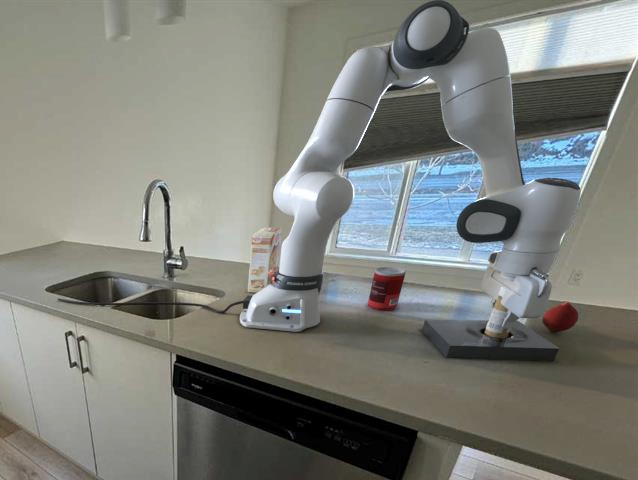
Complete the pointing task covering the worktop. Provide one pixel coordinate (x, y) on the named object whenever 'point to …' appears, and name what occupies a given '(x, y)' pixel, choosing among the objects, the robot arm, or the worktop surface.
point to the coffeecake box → (263, 257)
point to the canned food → (386, 288)
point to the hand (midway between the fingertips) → (499, 322)
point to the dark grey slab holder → (487, 341)
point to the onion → (560, 317)
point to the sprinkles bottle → (497, 319)
